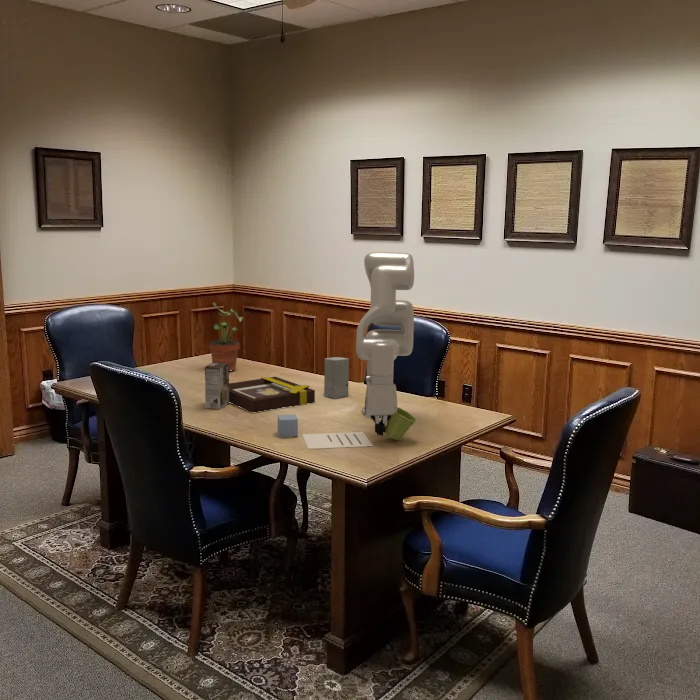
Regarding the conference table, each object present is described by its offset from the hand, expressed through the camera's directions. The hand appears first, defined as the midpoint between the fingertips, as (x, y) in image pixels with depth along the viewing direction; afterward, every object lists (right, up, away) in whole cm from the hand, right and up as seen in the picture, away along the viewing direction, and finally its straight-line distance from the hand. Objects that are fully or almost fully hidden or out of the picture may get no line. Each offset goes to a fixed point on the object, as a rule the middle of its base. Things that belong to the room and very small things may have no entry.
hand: (379, 434), depth 235 cm
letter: (-14, -2, 0) cm, 14 cm away
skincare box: (-15, +9, +58) cm, 60 cm away
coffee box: (-60, +6, +38) cm, 72 cm away
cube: (-31, -1, +5) cm, 31 cm away
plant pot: (+4, -1, +2) cm, 4 cm away
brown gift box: (-43, +7, +49) cm, 65 cm away
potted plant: (-68, +18, +100) cm, 122 cm away
